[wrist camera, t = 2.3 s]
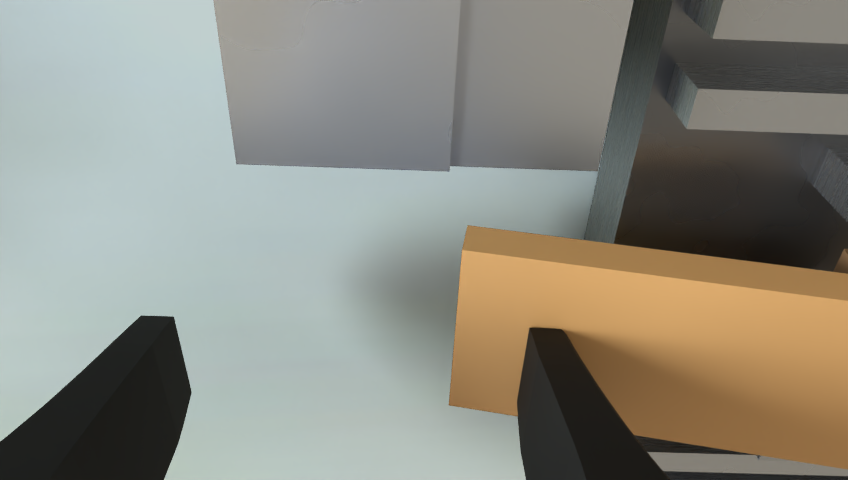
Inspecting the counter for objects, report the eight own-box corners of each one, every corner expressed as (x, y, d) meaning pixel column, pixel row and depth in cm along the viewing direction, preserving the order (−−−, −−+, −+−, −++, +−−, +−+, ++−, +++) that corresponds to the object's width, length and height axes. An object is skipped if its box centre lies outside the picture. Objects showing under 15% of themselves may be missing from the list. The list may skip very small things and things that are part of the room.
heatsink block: (861, 431, 20) (946, 559, 17) (545, 422, 20) (568, 549, 17) (1178, -73, 12) (1456, -16, 9) (654, -95, 12) (740, -45, 9)
